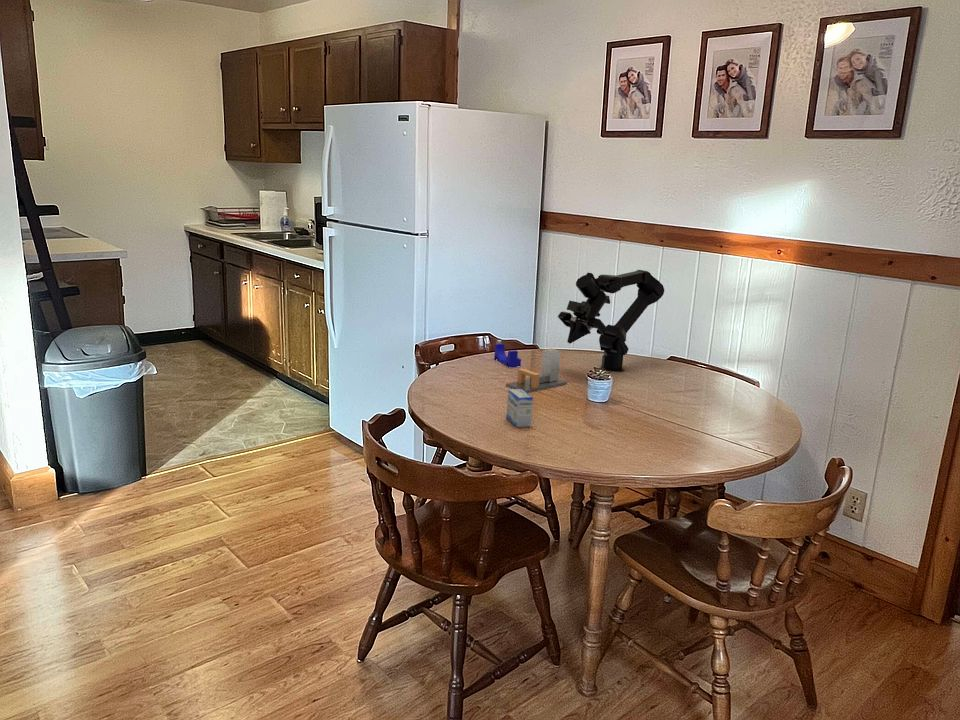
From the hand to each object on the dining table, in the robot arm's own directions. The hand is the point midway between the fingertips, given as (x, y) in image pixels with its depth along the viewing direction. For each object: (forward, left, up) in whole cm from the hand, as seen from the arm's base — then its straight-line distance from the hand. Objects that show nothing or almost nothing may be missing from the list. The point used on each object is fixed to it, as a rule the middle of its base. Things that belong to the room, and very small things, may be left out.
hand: (568, 342), depth 251 cm
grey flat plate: (+12, +8, -13) cm, 19 cm away
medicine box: (+26, +43, -13) cm, 52 cm away
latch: (+10, +6, -12) cm, 16 cm away
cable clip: (+16, -20, -13) cm, 29 cm away
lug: (+16, +10, -12) cm, 22 cm away
